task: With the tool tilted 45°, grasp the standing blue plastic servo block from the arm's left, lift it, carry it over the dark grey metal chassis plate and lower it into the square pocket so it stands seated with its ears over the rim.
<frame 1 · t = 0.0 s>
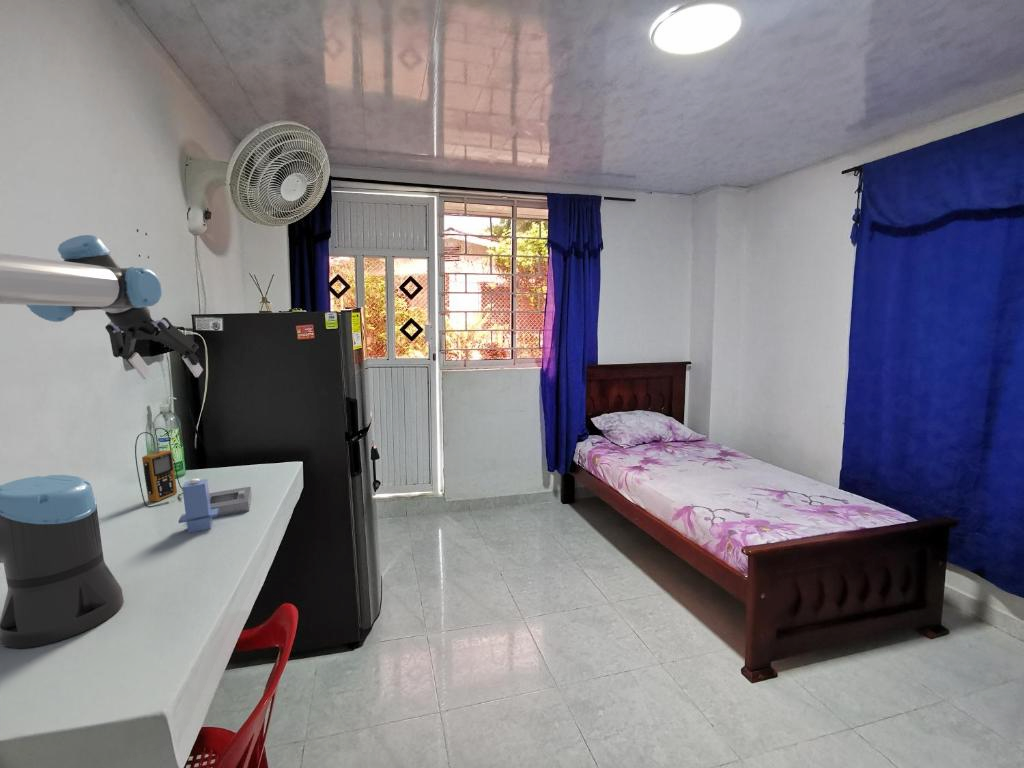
hand: (173, 374, 126), 36 cm above the counter, tool tilted 35°, fingers open, 13 cm apart
servo: (200, 527, 119), on the counter
chassis plate: (225, 506, 132), on the counter
multimeter: (174, 498, 141), on the counter
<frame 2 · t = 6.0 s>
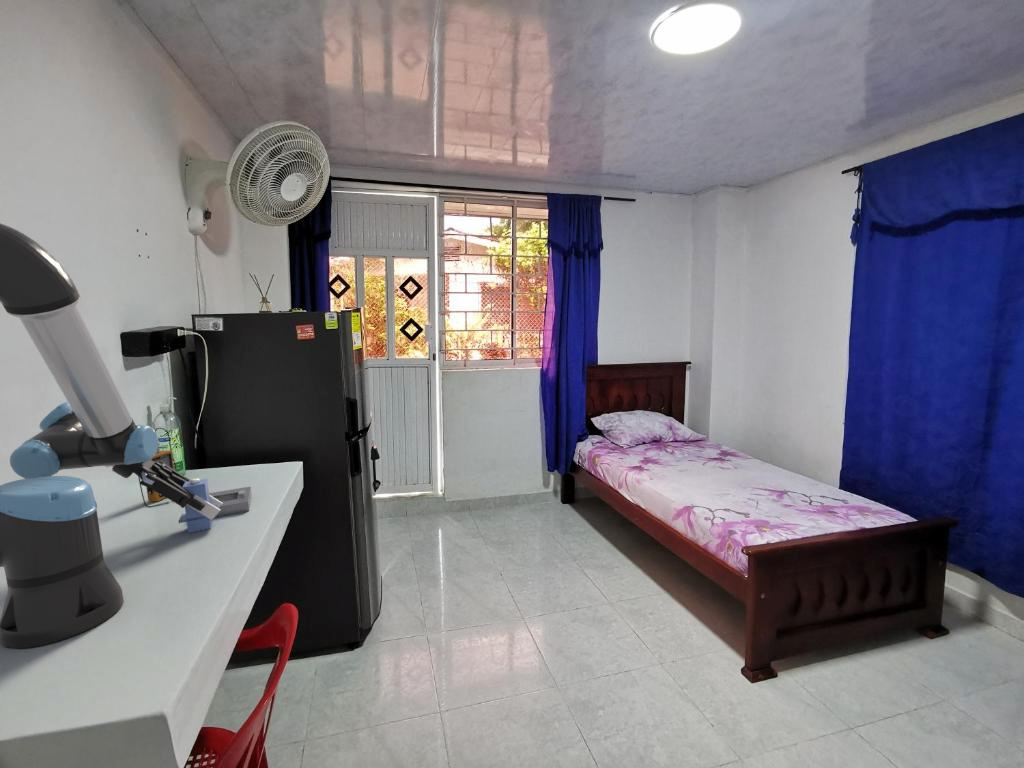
hand: (217, 511, 120), 3 cm above the counter, tool tilted 45°, fingers closed on servo, 4 cm apart
servo: (200, 527, 119), on the counter, touching gripper
everything else where it was.
when the fingers open (5 cm above the counter, at t = 11.3 s): servo drops 2 cm, resting on chassis plate.
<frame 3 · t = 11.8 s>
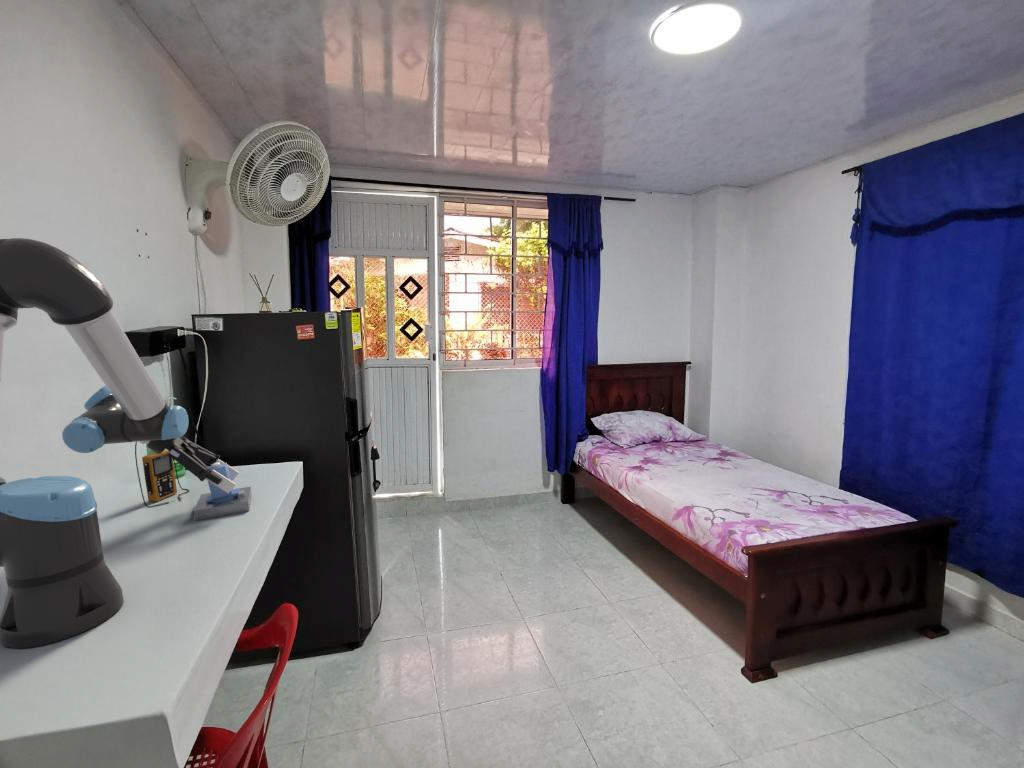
hand: (234, 482, 132), 6 cm above the counter, tool tilted 45°, fingers open, 11 cm apart
servo: (226, 505, 132), resting in chassis plate, tilted 6°
everything else where it was.
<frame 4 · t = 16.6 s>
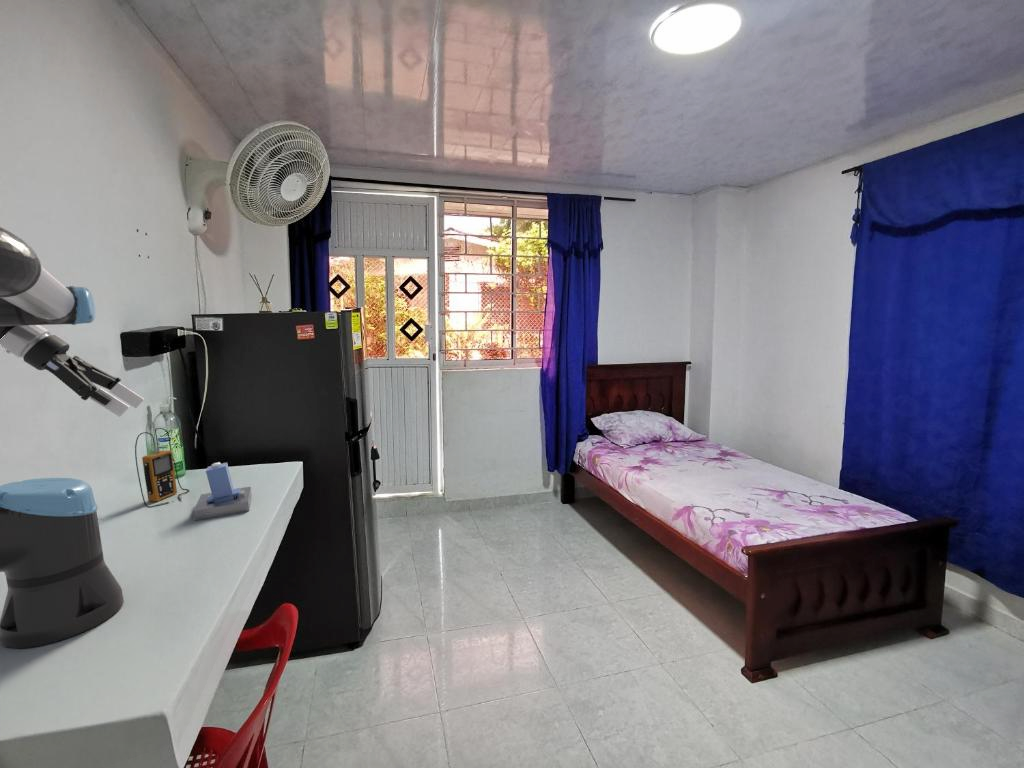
hand: (133, 407, 114), 30 cm above the counter, tool tilted 45°, fingers open, 13 cm apart
nothing on the counter moved.
at the end: servo 0.4 cm off-centre on the chassis plate, point 0.2 cm above the chassis plate's base; servo tilted 6°; the gripper is holding nothing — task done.
